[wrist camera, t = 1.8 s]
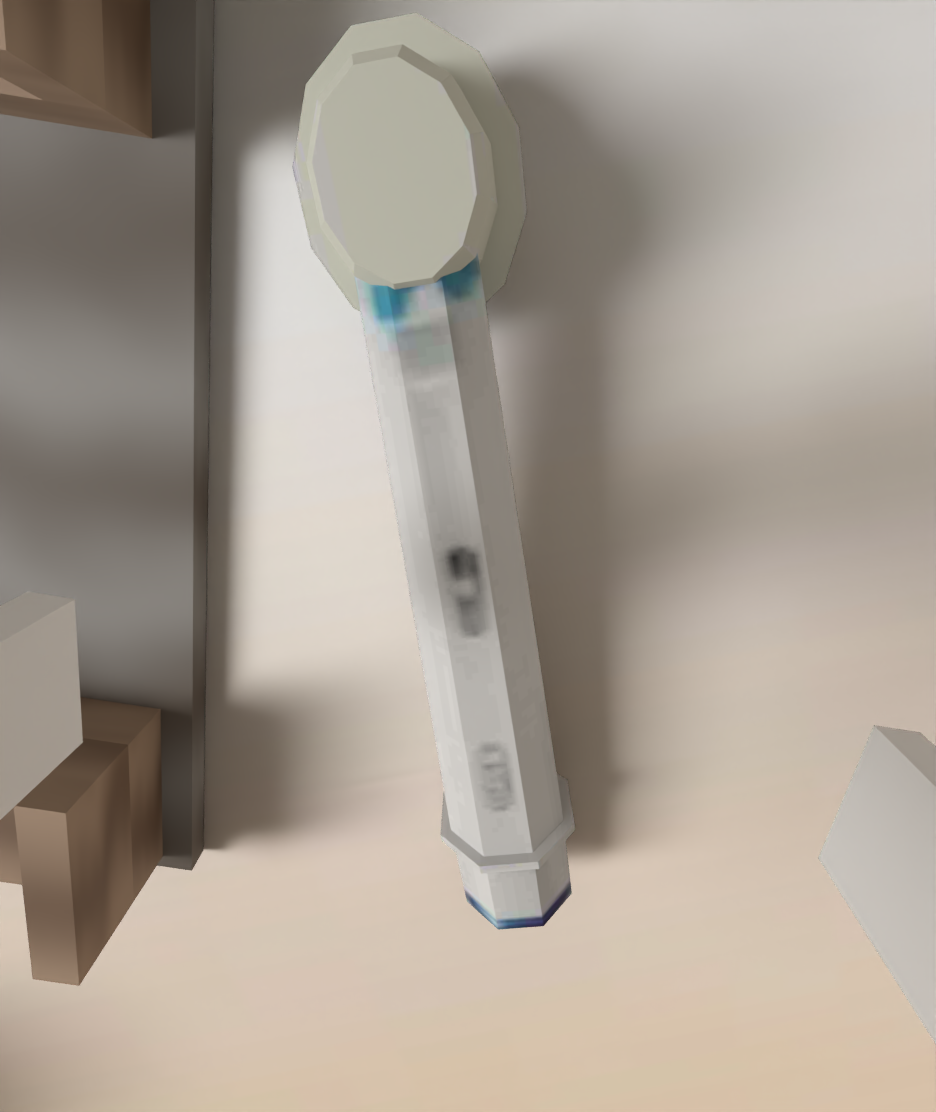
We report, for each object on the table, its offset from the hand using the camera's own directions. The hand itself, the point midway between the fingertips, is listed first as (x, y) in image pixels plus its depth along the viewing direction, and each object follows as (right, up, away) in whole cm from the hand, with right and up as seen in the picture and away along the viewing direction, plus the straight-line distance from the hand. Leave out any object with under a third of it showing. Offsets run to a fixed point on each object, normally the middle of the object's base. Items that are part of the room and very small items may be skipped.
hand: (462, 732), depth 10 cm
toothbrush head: (0, +4, +10) cm, 11 cm away
